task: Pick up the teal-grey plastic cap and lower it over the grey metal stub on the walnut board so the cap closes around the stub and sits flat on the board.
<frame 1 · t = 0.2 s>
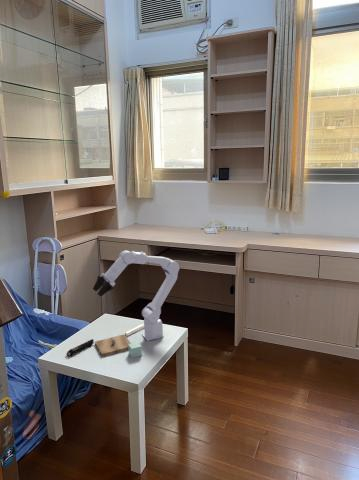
hand: (96, 292, 172), 31 cm above the table, tool tilted 45°, fingers open, 7 cm apart
marker: (137, 331, 199), on the table
electric trimmer: (80, 350, 180), on the table
stub board: (113, 346, 182), on the table
housing cap: (135, 354, 174), on the table
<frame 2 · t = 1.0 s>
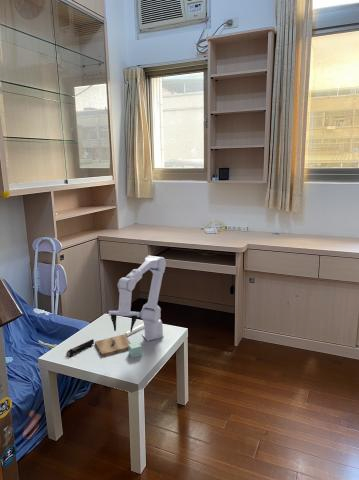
hand: (123, 330, 170), 14 cm above the table, tool pointing down, fingers open, 7 cm apart
nothing on the table moved.
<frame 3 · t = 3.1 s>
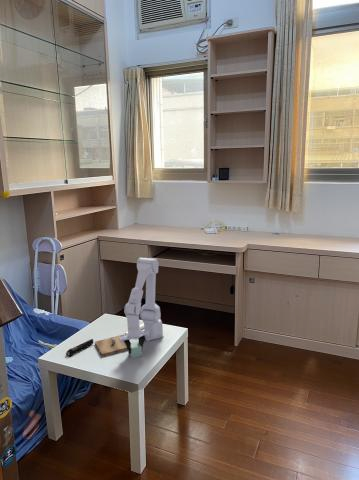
hand: (135, 351, 174), 1 cm above the table, tool pointing down, fingers closed on housing cap, 5 cm apart
housing cap: (135, 354, 174), on the table, touching gripper
everything else where it was.
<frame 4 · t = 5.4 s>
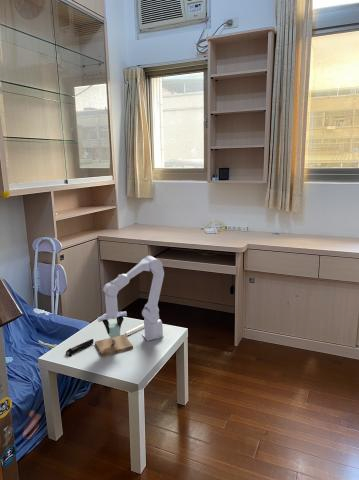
hand: (113, 331, 180), 8 cm above the table, tool pointing down, fingers closed on housing cap, 5 cm apart
housing cap: (113, 334, 180), point 7 cm above the table, touching gripper
everything else where it was.
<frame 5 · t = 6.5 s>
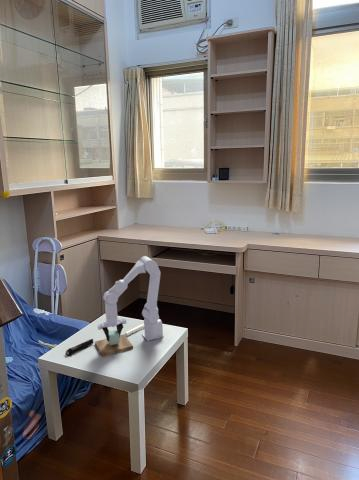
hand: (113, 339, 181), 4 cm above the table, tool pointing down, fingers closed on housing cap, 5 cm apart
housing cap: (113, 341, 182), point 3 cm above the table, touching gripper
everything else where it was.
when the fingers open (4 cm above the table, at t = 7.5 s): housing cap stays where it is, resting on stub board.
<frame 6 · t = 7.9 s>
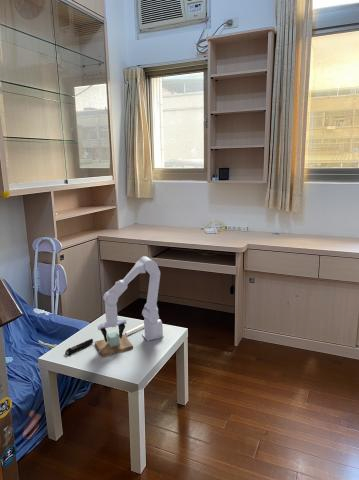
hand: (113, 339, 181), 4 cm above the table, tool pointing down, fingers open, 7 cm apart
housing cap: (113, 343, 182), point 1 cm above the table, touching stub board
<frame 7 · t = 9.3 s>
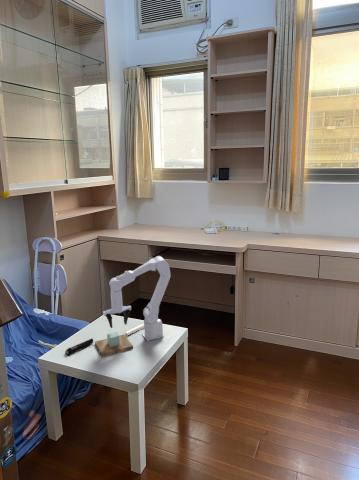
hand: (118, 325, 185), 9 cm above the table, tool pointing down, fingers open, 7 cm apart
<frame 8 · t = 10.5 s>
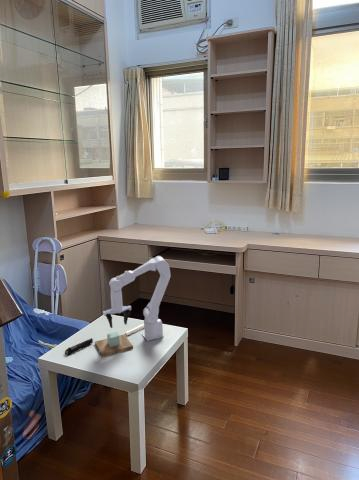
hand: (118, 325, 185), 9 cm above the table, tool pointing down, fingers open, 7 cm apart
at the end: housing cap 0.2 cm off-centre on the stub board, point 1.5 cm above the stub board's base; housing cap tilted 0°; the gripper is holding nothing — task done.
